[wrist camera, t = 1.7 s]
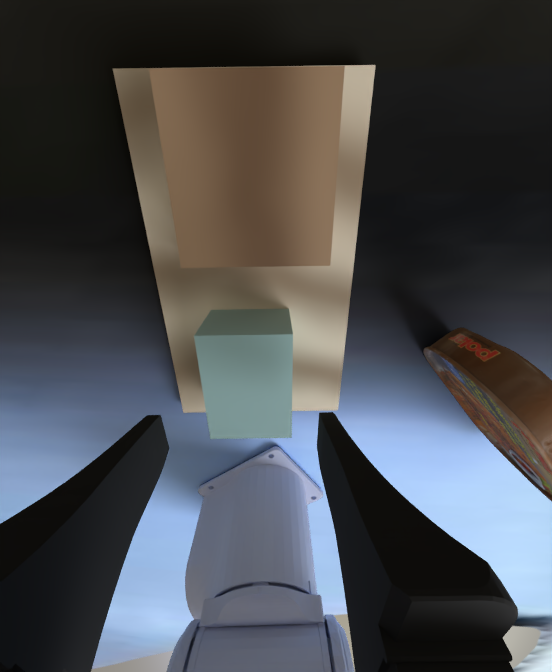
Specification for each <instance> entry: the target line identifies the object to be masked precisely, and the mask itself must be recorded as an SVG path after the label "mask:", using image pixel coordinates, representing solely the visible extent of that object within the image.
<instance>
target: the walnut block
mask: <svg viewBox="0 0 552 672" xmlns="http://www.w3.org/2000/svg"><path fill="white" fill-rule="evenodd" d="M344 69H345V66H302V67H229V68H157V69H149V73H150V79H151V85H152V91H153V98H154V104H155V110H156V116H157V122H158V128H159V135H160V141H161V147H162V153H163V159H164V165H165V171H166V178H167V184H168V190H169V196H170V202H171V208H172V215H173V221H174V227H175V233H176V239H177V245H178V252H179V258H180V264H181V268H211V267H279V266H330V263H331V249H332V235H333V222H334V208H335V194H336V180H337V166H338V152H339V139H340V125H341V111H342V97H343V83H344Z"/></svg>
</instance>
